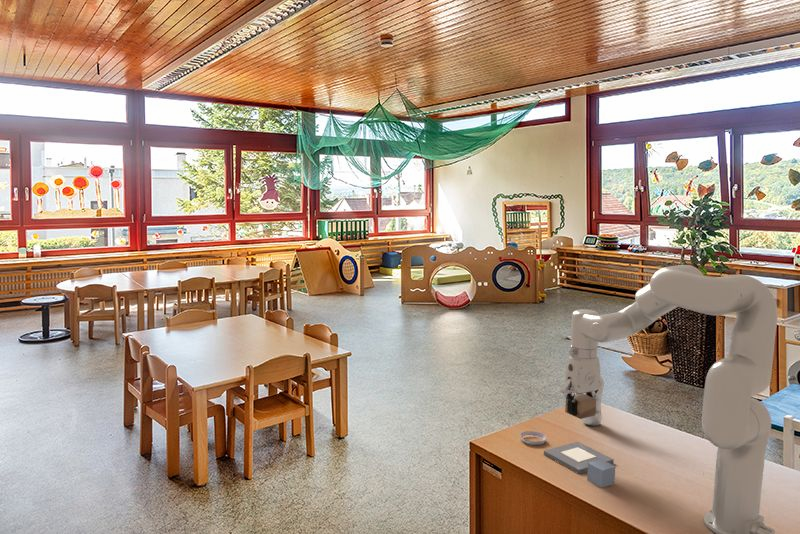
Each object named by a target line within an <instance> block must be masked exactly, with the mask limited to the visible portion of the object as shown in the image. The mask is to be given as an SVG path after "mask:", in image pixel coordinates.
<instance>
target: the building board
mask: <svg viewBox="0 0 800 534" xmlns="http://www.w3.org/2000/svg"><path fill="white" fill-rule="evenodd" d="M543 456H546V457H547V456H548V457H547V458H549V457H550V458H549V459H551V458H552V459H551V460H553V459H554V460H553V461H555V460H556V461H558V462H559V463H558V462H557V463H558V464H560V463H561V464H560V465H562V464H563V465H562V466H564V465H565V466H566V467H565V466H564V467H565V468H567V467H568V468H567V469H569V468H570V470H571V469H572V470H571V471H573V472H574V471H575V473H576V472H577V474H579V475H581V474H583V473H588V463H589V462H593V461H596V460H599V459H602V460H604V461H606V462H608V463H610V464H612V465H613V464H614V460H615V459H614V458H612V457H609V456H608V455H606V454H604V453H602V452H599V450H596V449H594V448H592V447H589V446H588V445H586V444H584V443H581V442H579V441H574V442H572V443H571V442H570V443H567V444H563V445H560V446H556V447H552V448H549V449H545V450H543ZM556 461H555V462H556Z"/></svg>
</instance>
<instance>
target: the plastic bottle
mask: <svg viewBox="0 0 800 534" xmlns="http://www.w3.org/2000/svg"><path fill="white" fill-rule="evenodd" d="M600 382H601V383H602V385H601V386H600V388H599V389H598V392H597V393H596V397H595V399H596V413H595V416H591V417H587V418H583V419H581V421H582V422H583V424H585V425H588V426H599V425H600V424H601V422H602V420H603V413H602V403H601V402H602V396H603V390H604V387H605V383H604V380H603V378H602V376H601V375H600ZM584 394H585V395H586V393H584Z"/></svg>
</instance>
